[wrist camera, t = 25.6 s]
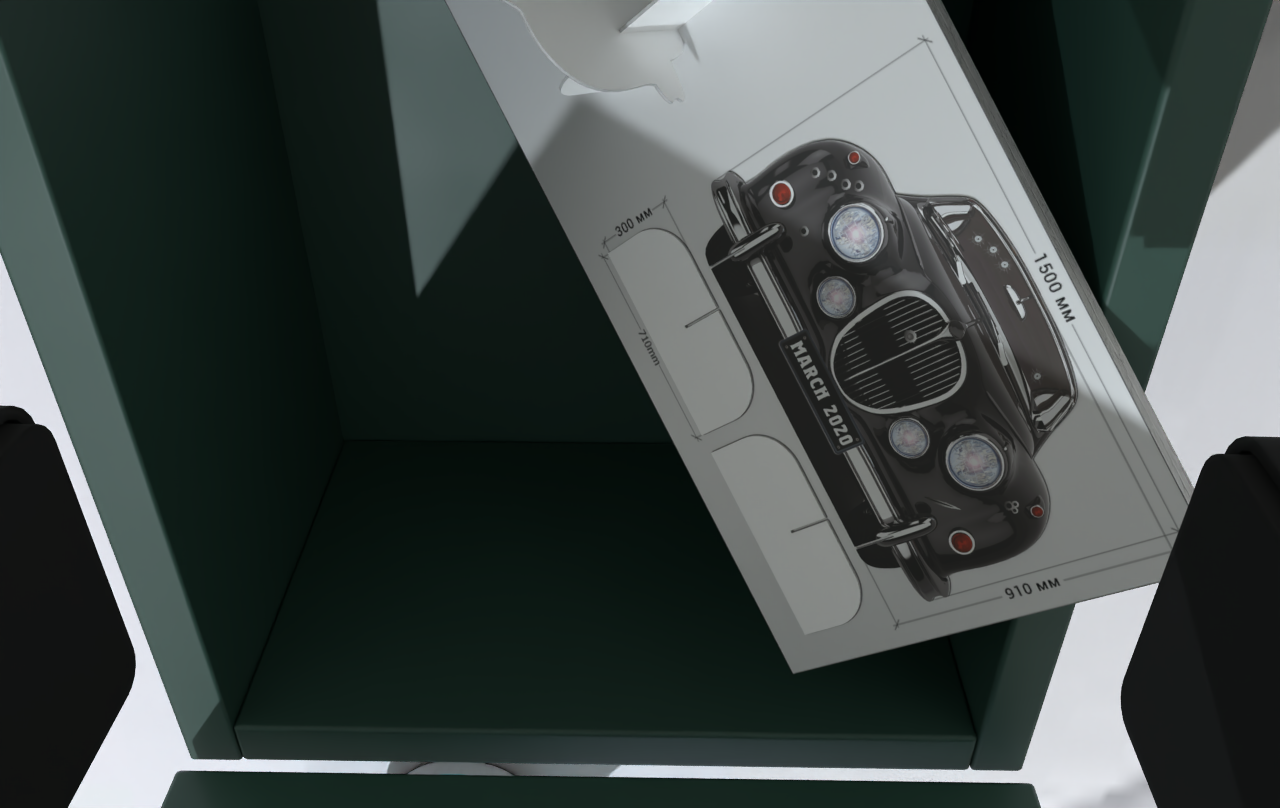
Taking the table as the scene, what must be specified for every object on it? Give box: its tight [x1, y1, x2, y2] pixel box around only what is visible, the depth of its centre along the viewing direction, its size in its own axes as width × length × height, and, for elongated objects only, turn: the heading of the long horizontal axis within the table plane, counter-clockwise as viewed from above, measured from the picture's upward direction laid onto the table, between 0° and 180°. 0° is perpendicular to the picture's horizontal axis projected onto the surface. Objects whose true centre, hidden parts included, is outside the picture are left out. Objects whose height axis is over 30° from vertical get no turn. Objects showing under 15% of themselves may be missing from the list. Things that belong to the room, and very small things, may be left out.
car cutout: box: [444, 0, 1194, 674], centre depth 14 cm, size 15×7×4 cm
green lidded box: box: [0, 0, 1273, 771], centre depth 17 cm, size 20×14×9 cm
